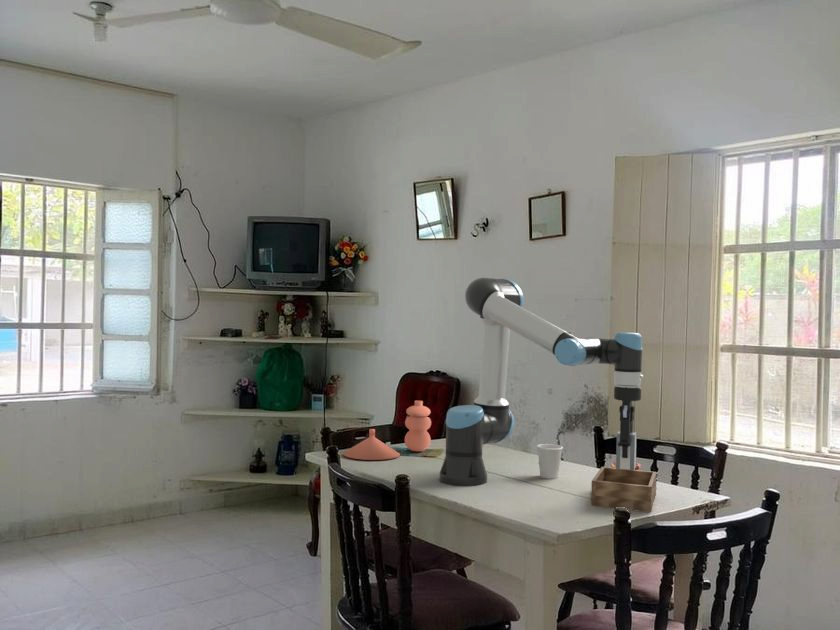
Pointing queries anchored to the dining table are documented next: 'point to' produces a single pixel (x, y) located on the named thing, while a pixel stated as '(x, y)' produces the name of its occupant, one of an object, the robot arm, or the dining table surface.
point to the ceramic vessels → (414, 438)
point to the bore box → (624, 489)
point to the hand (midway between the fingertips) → (625, 466)
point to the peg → (632, 451)
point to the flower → (635, 468)
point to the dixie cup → (549, 460)
